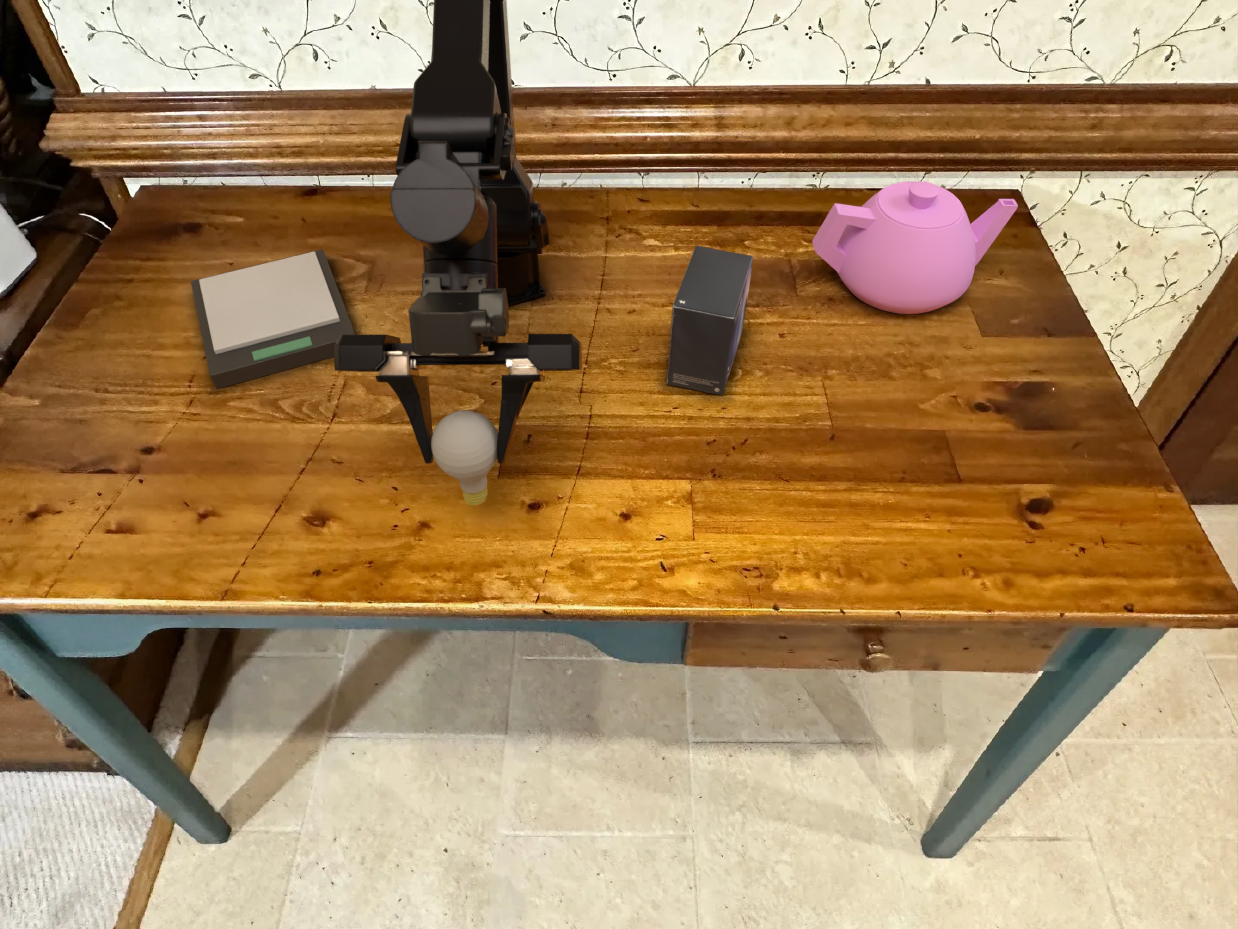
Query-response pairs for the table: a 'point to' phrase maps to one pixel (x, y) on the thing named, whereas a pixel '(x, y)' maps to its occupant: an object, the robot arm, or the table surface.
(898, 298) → the teapot
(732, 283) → the small box
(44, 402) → the table surface
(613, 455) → the table surface
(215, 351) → the scale
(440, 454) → the light bulb
